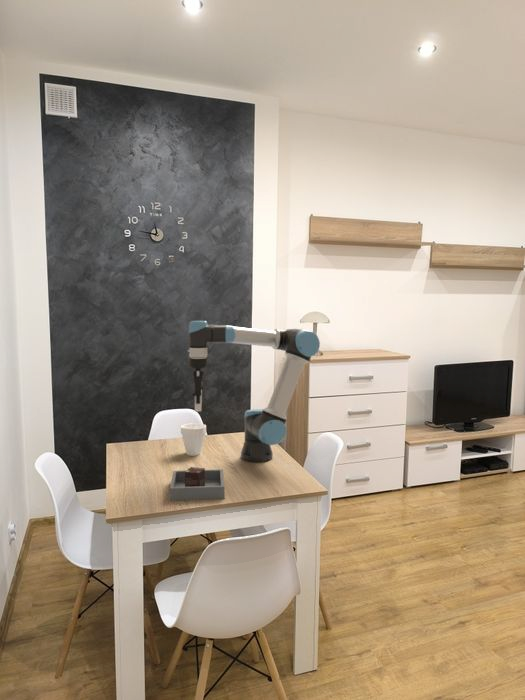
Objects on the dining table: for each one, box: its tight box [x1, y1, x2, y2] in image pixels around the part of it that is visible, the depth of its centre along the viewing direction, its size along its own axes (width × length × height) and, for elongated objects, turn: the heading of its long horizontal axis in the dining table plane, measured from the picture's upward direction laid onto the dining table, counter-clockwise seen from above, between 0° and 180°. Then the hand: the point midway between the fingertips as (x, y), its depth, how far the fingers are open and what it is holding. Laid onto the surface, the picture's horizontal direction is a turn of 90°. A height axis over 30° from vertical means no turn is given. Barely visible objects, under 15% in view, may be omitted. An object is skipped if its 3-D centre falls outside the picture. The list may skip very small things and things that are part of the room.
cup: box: [180, 422, 207, 457], centre depth 239 cm, size 12×12×14 cm
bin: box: [169, 468, 225, 502], centre depth 192 cm, size 20×20×5 cm
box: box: [185, 466, 206, 487], centre depth 192 cm, size 6×6×7 cm
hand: (198, 408), depth 207 cm, fingers open, 13 cm apart
